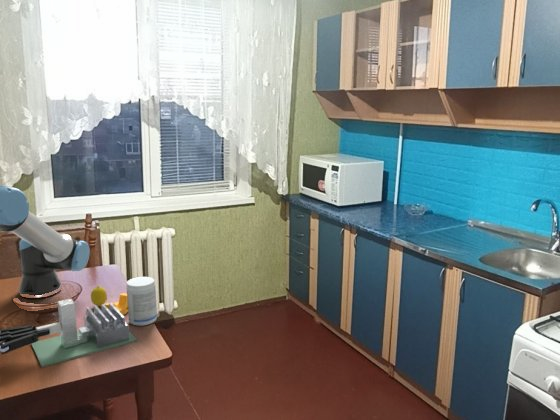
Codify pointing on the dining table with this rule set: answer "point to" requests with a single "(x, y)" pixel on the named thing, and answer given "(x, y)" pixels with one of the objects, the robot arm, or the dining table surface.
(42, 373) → the dining table surface
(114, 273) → the dining table surface
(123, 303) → the pipe clamp
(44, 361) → the board
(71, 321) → the white upright block
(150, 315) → the supplement tub
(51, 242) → the robot arm
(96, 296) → the lemon
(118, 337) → the heatsink
